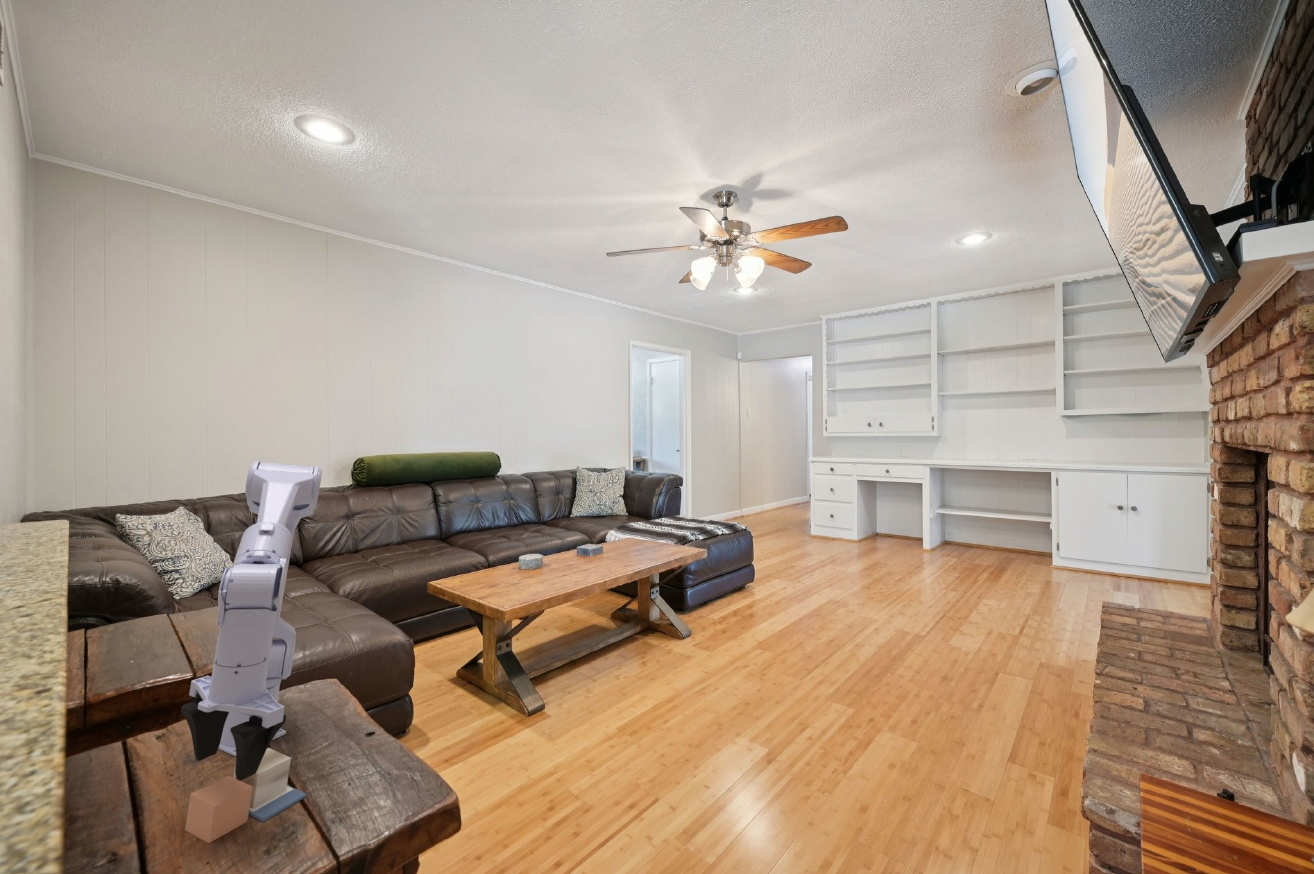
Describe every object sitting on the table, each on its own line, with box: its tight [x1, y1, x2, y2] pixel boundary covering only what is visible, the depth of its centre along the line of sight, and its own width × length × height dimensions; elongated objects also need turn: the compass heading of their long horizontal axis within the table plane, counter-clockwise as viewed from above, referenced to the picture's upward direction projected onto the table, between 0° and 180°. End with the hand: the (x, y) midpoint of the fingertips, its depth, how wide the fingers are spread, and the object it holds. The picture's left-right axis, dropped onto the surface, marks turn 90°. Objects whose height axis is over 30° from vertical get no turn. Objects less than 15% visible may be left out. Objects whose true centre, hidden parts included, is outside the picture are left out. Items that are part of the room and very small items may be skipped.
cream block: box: [232, 747, 292, 808], centre depth 75 cm, size 4×4×4 cm
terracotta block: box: [184, 774, 253, 844], centre depth 69 cm, size 4×4×4 cm
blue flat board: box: [248, 784, 307, 823], centre depth 75 cm, size 10×6×1 cm, turn 70°
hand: (225, 766), depth 69 cm, fingers open, 7 cm apart
